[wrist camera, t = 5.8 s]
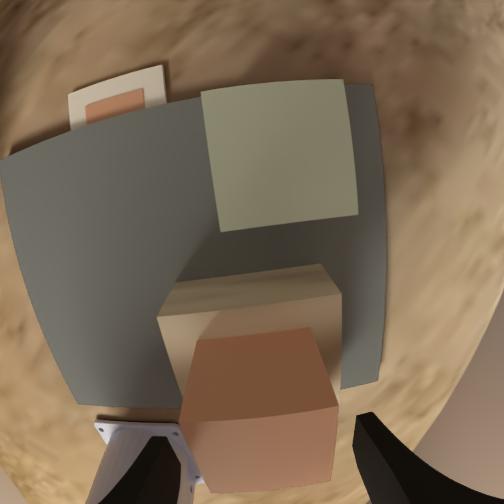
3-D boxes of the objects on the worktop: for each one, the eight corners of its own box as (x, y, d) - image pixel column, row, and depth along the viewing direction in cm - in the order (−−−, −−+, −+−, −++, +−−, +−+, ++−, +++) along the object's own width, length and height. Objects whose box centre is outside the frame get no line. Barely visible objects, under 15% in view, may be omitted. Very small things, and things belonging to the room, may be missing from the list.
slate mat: (373, 372, 20) (378, 380, 19) (82, 396, 20) (78, 404, 20) (365, 88, 15) (372, 84, 14) (7, 160, 15) (-2, 160, 14)
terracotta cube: (311, 405, 15) (330, 481, 10) (217, 416, 15) (210, 492, 10) (310, 326, 13) (339, 405, 8) (197, 339, 13) (178, 421, 8)
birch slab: (324, 377, 19) (338, 419, 15) (203, 391, 19) (197, 435, 15) (320, 263, 17) (341, 293, 13) (174, 282, 17) (156, 316, 13)
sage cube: (324, 198, 16) (358, 214, 11) (227, 210, 16) (220, 231, 11) (313, 102, 14) (342, 79, 9) (214, 113, 14) (200, 91, 9)
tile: (176, 169, 16) (174, 169, 15) (81, 189, 16) (78, 190, 16) (163, 66, 14) (161, 64, 14) (71, 95, 14) (67, 94, 14)
